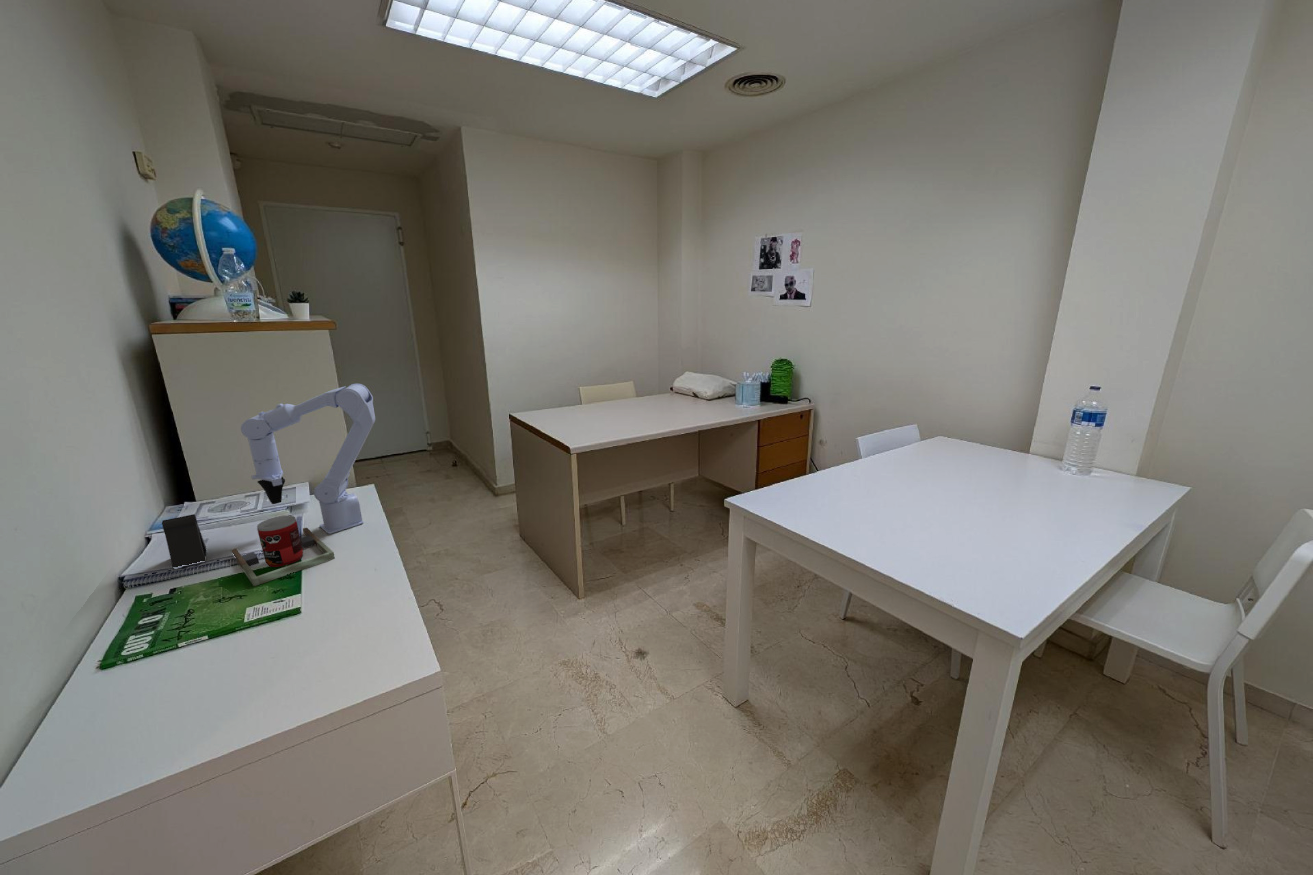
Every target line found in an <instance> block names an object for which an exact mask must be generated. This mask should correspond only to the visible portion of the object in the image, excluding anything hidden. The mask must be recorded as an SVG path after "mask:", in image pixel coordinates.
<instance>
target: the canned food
mask: <svg viewBox="0 0 1313 875" xmlns="http://www.w3.org/2000/svg"><path fill="white" fill-rule="evenodd" d="M256 530H257V534H258V538H259V541H260V546H261V549H262V554H263V556H264V557H263V558H264V561H265V563H266V565H267V566H268V567H270V568H278V567H279V568H280V567H281V568H282V567H285V566H289V565H292V564H295V563H297V562H299V561H300V560H301V559H302V558H303V557H304V548H303V546H302V544H301V539H300V538H301V536H300V531H299V527H298V522H297V518H296V516H294V515H279V516H275V517H271V518H268V519H265V520H263V521H261V522H259V523H258V524H257V525H256ZM291 563H292V564H291ZM284 565H285V566H284Z"/></svg>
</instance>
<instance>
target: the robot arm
mask: <svg viewBox="0 0 1313 875" xmlns="http://www.w3.org/2000/svg"><path fill="white" fill-rule="evenodd" d="M325 407H331V408H335V409H337V408H338V407H339V408H340V409H342V410H343V411H344V412H345V413H346V414H347V415H349V417H350V418H351V420H352V422H353V423H352V425H351V427H350V429H349V432H348V433H347V435H346V437H345V439H344V440H343V443H342V445H341V447H340V449H339V452H338V453H337V455H336V457H335V459H334V461H333V463H332V464H331V467H330V469H329V470H328V472H327V474H325V476H324V479H322V481H321V482H320V483H319V484H317V485H316V486H315V488H314V489H313V496H314V498H315V499H316V500H317V501H318V502H319V507H320V513H321V516H322V517H321V518H322V521H323V523H322V524H319V528H321V529H322V530H323V531H324V532H325V533H327V534H329V535H330V534H335V533H337V532H340V531H343V530H346V529H350V528H353V527H356V526H359V525H363V524H364V523H365V522H364V521H363V517H362V512H361V506H360V505H361V504H360V501H359V499H358V497H357V495H356V494H355V493H350V494H348V492H347V491H346V489H347V488H348V486H349V477H350V474H351V470H352V468H353V466H354V464H355V462H356V460H357V458H358V456H359V454H360V452H361V450H362V448H363V446H364V444H365V442H366V440H367V439H368V436H369V434H370V432H371V430H372V428H373V427H374V425H375V422H376V415H375V409H374V396H373V395H372V393H371V392H370V389H368V387H367V386H365V384H362V383H352V384H350V385H348V386H346V385H345V386H342V387H338V388H334V389H331V390H329V391H326V392H323V393H322V394H319V395H317V396H314V397H312V398H310V399H307V400H305V401H303V402H301V403H299V404H291V403H285V404H283V403H279V404H277V405H275V408H272V409H271V410H268V411H260V412H259V413H258V414H257V415H255V416H253V417H250V418H248V419H246V420H245V421H244V422H243V423H242V424H241V426H240V431H241V434H242V435H243V436H244V437H245V438H247V440H248V446H249V449H250V450H249V451H250V453H251V458H252V461H253V465H254V466H253V467H254V470H255V474H253V475H251V476H250V477H251V479H252V480H257V483H258V484H259V486H260V487H261V488H262V489H263V491H264V492H265V494H266V496H267V498H268V500H269V502H270V503H271V504H272V505H277V504H280V503H282V498H283V488H284V484H285V482H286V479H285V478H284V477H283V475H284V470H283V469H282V466H281V460H280V456H279V451H278V446H277V442H276V439H275V434H274V432H278V431H280V430H284V429H286V428H288V427H290V426H293V425H295V424H297V423H300V422H301V419H302V416H304V415H307V414H309V413H312V412H315V411H317V410H319V409H323V408H325Z"/></svg>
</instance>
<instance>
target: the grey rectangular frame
mask: <svg viewBox="0 0 1313 875" xmlns="http://www.w3.org/2000/svg"><path fill="white" fill-rule="evenodd" d="M302 532H303V535H304V536H307V535H310V536H311V537H312V538H313V539H314V541H315V545H314V546H316V547H317V548H318V549H319V550H320V551H321V552H322V554H319V555H316V556H313V557H311V558H308V559H304V560H302V561H297V562H294V563H292V564H289V565H285V566H282V567H281V568H280V567H279V568H278V569H275V570H272V571H269V572H266V573H263V574H260V575H256V574H255V572H254V571H253V569H251V568H252V567H251V566H249V565H248V564H247V563H246V561H245V560H244V559H243V557H242V554H241V553H240V552H239V550H238V549H237V548H233V549H231V554H232V553H233V554H234V556H235V557H236V560H237V561H236V560H235V561H236V562H237V563H238V566H239V567H240V569H242V572H243V573H244V575H246V578H248V580H249V581H250V583H251V584H252V586H253V587H257V586H259V585H262V584H265V583H268V582H271V581H273V580H277V579H279V578H280V579H281V578H282V577H285V576H287V574H288V575H291V574H294V573H296V572H299V571H302V570H305V569H308V568H311V567H314V566H317V565H319V564H322V563H325V562H328V561H330V560H331V561H332V560H333V559H335V558H336V556H335V553H334V551H333V550H332V549H331V548H330V547H329V546H327V545H326V544H325V543H324V541H322V540H321V539H320V538H319V537H318V536H317V535H316V534H315V533H313V531H311V530H310V529H309V528H308V527H302ZM233 554H232V555H233ZM293 572H294V573H293ZM290 573H291V574H290Z"/></svg>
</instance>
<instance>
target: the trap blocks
mask: <svg viewBox="0 0 1313 875" xmlns="http://www.w3.org/2000/svg"><path fill="white" fill-rule="evenodd" d="M300 539H301V544H302V548H303V549H308V548H311V547H313V546H316V545H315V541H314V539H313V538H312V537H311V536H310V535H307V536H305V535H304V536H300ZM241 556H242V557H243V559H244V560H245V561H246V563H247V564H248V565H249V567H252V566H255V565H258V564H260V562H259V557H258V555H257V554H256V553H255V552H254V551H253V552H250V553H245V554H243V555H242V554H241Z"/></svg>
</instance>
